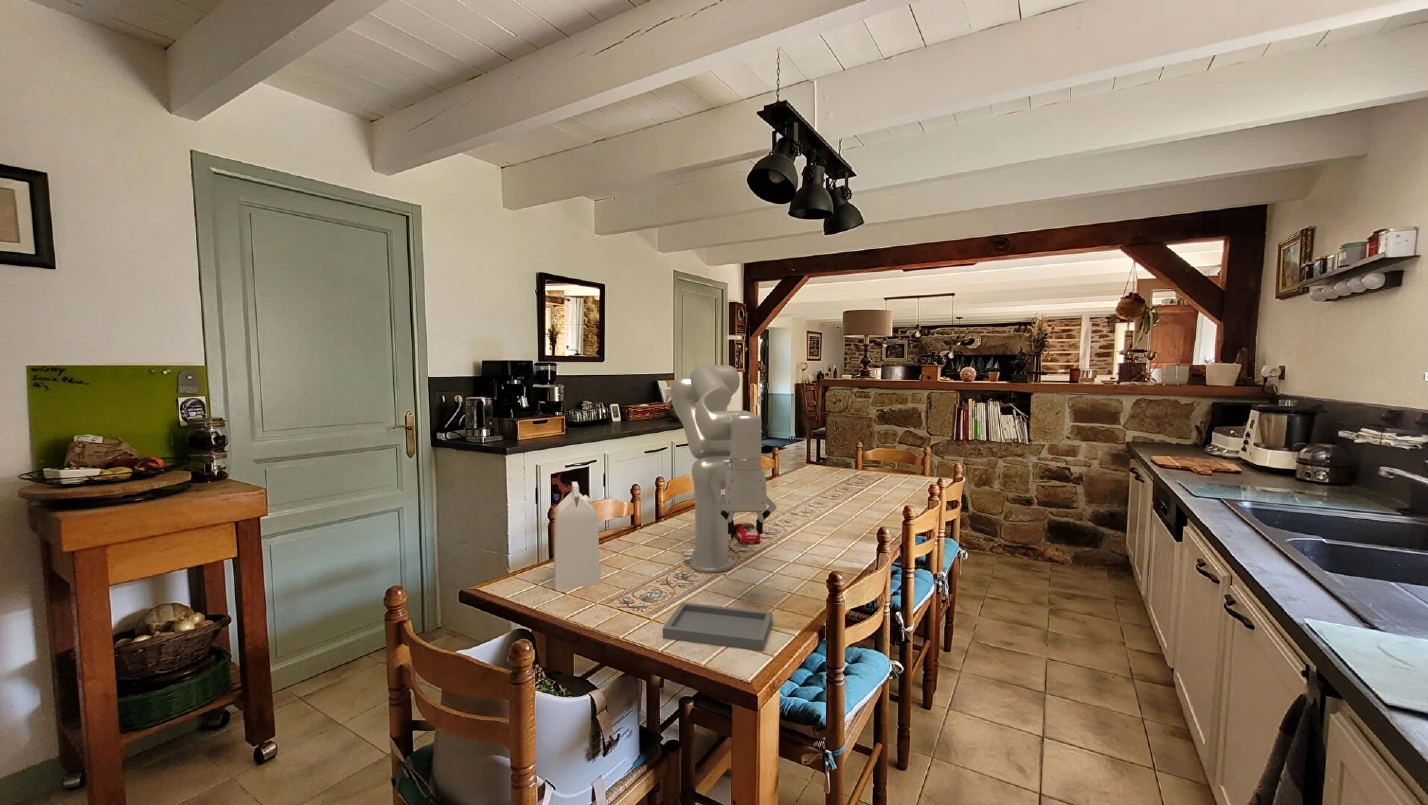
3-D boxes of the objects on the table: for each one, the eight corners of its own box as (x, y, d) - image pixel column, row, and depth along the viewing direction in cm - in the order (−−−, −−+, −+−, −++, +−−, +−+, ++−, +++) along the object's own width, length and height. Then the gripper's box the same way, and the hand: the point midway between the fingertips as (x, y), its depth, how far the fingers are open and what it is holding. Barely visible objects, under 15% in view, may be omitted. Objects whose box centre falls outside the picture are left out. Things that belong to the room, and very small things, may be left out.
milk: (553, 573, 154) (552, 480, 152) (595, 568, 158) (594, 478, 156) (555, 589, 143) (553, 490, 141) (600, 584, 146) (599, 487, 145)
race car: (728, 532, 142) (729, 517, 142) (749, 531, 143) (749, 516, 143) (739, 548, 129) (740, 531, 129) (762, 547, 130) (762, 530, 130)
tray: (662, 638, 117) (662, 628, 117) (681, 611, 130) (681, 602, 130) (762, 651, 112) (763, 640, 112) (772, 621, 125) (772, 612, 125)
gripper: (710, 467, 131) (710, 541, 132) (782, 467, 131) (782, 541, 133) (710, 461, 139) (710, 532, 140) (778, 461, 139) (778, 532, 140)
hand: (745, 536), depth 136 cm, fingers closed on race car, 5 cm apart
